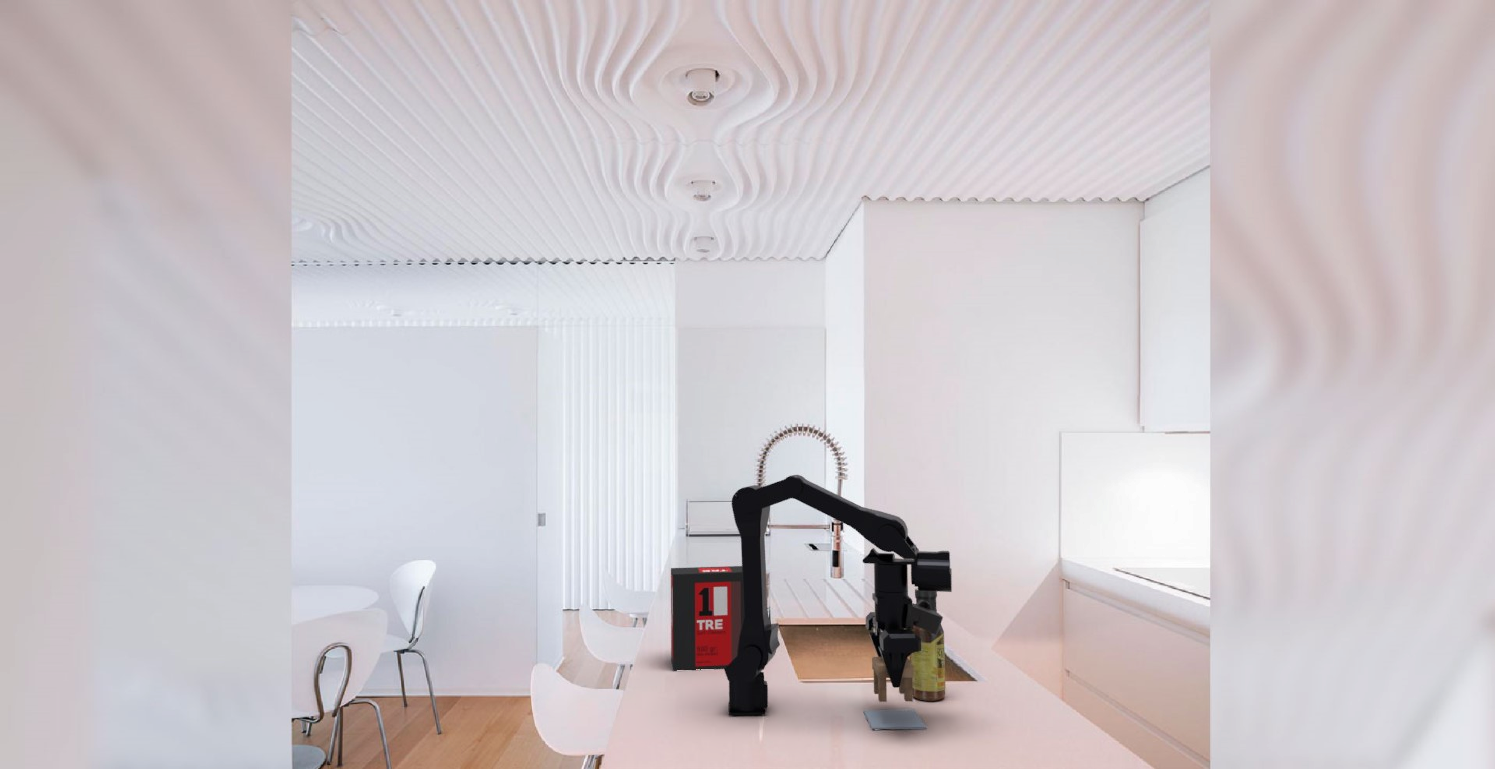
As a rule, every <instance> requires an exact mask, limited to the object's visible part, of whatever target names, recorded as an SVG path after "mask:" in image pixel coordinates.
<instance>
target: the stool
mask: <svg viewBox="0 0 1495 769" xmlns="http://www.w3.org/2000/svg"><path fill="white" fill-rule="evenodd" d="M871 667H872V668H871V669H872V670H873V693H874V695H877V696H878V702H879V703H882V702H883V703H887V702H888V700H887V699H888V698H887V697H888V696H887V695H888V694H887V693H888V692H887V679H890V678H889V675H888V672H887V669H886V667H885V664H884V661H883V658H882V657H878V656H871ZM912 677H914V665H913V664H912V663H911V659H909V658H907V660H906V663H905V667H904V671H903V675H902V679H901V683H900V687H898V693H899V694H900V695H902V694H903V699H904V701H905V702H913V701H914V699H913V698H914V696H913V684H912Z"/></svg>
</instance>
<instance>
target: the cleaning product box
mask: <svg viewBox="0 0 1495 769" xmlns="http://www.w3.org/2000/svg"><path fill="white" fill-rule="evenodd" d="M743 618H744V608H743V580H742V565H733V566H732V565H731V566H728V565H727V566H700V567H696V566H695V567H671V568H670V653H671V655H670V656H671V657H670V660H671V661H670V662H671V665H672V672H678V671H677V670H692V671H697V670H696V669H700V670H699V671H702V670H701V669H714V670H724V669H725V668H726V667H727V666H728V665H729V664H730V663H731V662H732V661H733V660H734V659H735V658H736V657H737V649H738V641H739V635H740V631H741V627H742V623H743Z"/></svg>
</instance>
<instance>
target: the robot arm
mask: <svg viewBox="0 0 1495 769" xmlns="http://www.w3.org/2000/svg"><path fill="white" fill-rule="evenodd" d="M790 499H795V500H797V501H799V502H800V503H802V504H804V505H807V506H808V507H810V508H813V509H814V510H817V511H819V512H821V513H823V514H824V515H827V516H829V517H831V518H832V519H835V520H836V521H838V522H841V523H843V524H844V525H847V526H849V527H851V528H852V529H853V530H855V531H856V532H858V534H859V535H861V536H862V537H863V538H864V539H865V540H866V541H868V542H869V543H871V544H872V545H874V546H875V547H876V548H878V549H879V550H881V551H883V552H878V550H876V549H875V548H874V547H872V548H871V549H870V551H869V553H868V554H867V555H866V556H864V558H863V559H862V563H863V564H873V569H874V570H873V574H874V575H873V576H874V577H873V578H874V582H873V584H874V588H873V589H874V590H873V592H874V593H873V592H872V595H871V596H872V597H871V598H872V600H873V601H874V611H870V612H869V613H868V614H867V615H866V616H865V629H866V630H867V631H870V632H868V635H869V637H870V640H871V642H872V645H873V648H874V650H875V653H876V655H877V657H882V658H883V661H884V664H885V667H886V669H887V672H888V675H889V678H888V679H890V683H891V685H892V687H893V688H898V689H899V687H900V683H901V679H902V675H903V671H904V667H905V663H906V660H907V658H908V657H911V654H912V653H915V652H919V651H921V639H920V638H919V637H918V636H917V635H916V634H915V633H914V632H913V631H912V630H911V629H914V627H913V625H914V626H917V627H919V628H922V629H925V630H928V631H930V633H933V634H936V635H937V634H938V631H939V628H940V625H942V621H943V618H944V616H942V615H941V614H940V613H939V612H938V611H937V612H935V611H933V610H931V608H930V604H929V603H928V602H926V601H923V600H921V599H920V600H919V601H918V602H917V603H916V602H915V603H914V602H913V599H912V597H910V596H909V585H908V584H909V582H908V581H909V576H908V574H909V573H908V565H910V580H911V585H913V586H914V587H916V588H918V591H937V592H941V593H944V592H946V593H948V592H949V593H952V590H953V588H952V586H953V584H952V583H953V580H952V578H953V576H952V568H951V554H950V553H951V552H950V551H949V550H940V551H926V550H924V551H923V550H919V548H918V547H917V544H915V543H914V542H913V540H912V539H911V537H910V536H909V535H908V534H909V531H908V530H909V529H908V527H907V524H906V522H905V521H904V519H903V518H901V517H900V516H897V515H895V514H891V513H888V512H884V511H880V510H876V509H872V508H867V507H863V506H861V505H859V504H857V503H855V502H853V501H850V500H849V499H846V498H844V497H842V496H841V495H838V494H836V493H834V492H832V491H831V490H829V489H826V488H825V487H823V486H821V485H818V484H816V483H814V482H812V481H810V480H808V479H806V477H804V476H802V475H799V474H793V475H789V476H787V477H785V478H784V479H782V480H779V481H776V482H773V483H770V484H768V485H765V486H761V485H758V484H754V485H748V486H745V487H741V488H740V489H738V490H737V491H736V492H735V493H734V494H733V495H732V498H731V508H732V513H733V519H734V522H735V526H736V528H737V532H738V534H739V536H740V546H741V547H740V549H741V550H740V551H741V566H742V580H743V608H744V618H743V623H742V627H741V631H740V635H739V641H738V649H737V657H736V658H735V659H734V660H733V661H732V662H731V663H730V664H729V665H728V666H727V667H726V668H725V669H723V670H724V673H725V676H726V679H727V680H728V716H761V715H762V716H763V715H766V709H768V708H769V705H768V704H769V702H768V700H769V690H768V688H769V687H768V681H767V680H765V673H764V672H763V671H764V670H765V667H766V666H767V665H768V664H769V663H770V661H771V660H772V659H774V657H775V656H776V653H777V649H778V648H779V647H780V645H781V643H780V640H779V636H778V635H779V623H778V622H776V623H772V622H771V620H770V617H769V614H768V596H767V594H768V593H767V591H768V590H767V568H766V566H767V564H766V542H765V539H766V531H767V527H768V523H769V519H770V513H771V506H774V505H776V504H779V503H783V502H785V501H787V500H790ZM892 552H893V553H892ZM895 554H897V555H898V556H899V557H900V558H897V557H896V555H895ZM872 629H873V631H872ZM908 659H909V658H908Z"/></svg>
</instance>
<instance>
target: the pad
mask: <svg viewBox="0 0 1495 769" xmlns="http://www.w3.org/2000/svg"><path fill="white" fill-rule="evenodd" d="M863 714H864V716H866V717H865V719H866V718H867V719H866V721H867V720H868V721H867V722H869V723H868V724H870V725H869V727H870V726H871V727H870V729H871V728H872V729H911V730H927V726H926V725H925V723H924V722H923V720H922V718H921V717H920V715H919V714H918V713H917V711H916V710H915V709H878V710H877V709H876V710H871V709H870V710H869V709H868V710H863ZM872 729H871V730H872Z"/></svg>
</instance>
